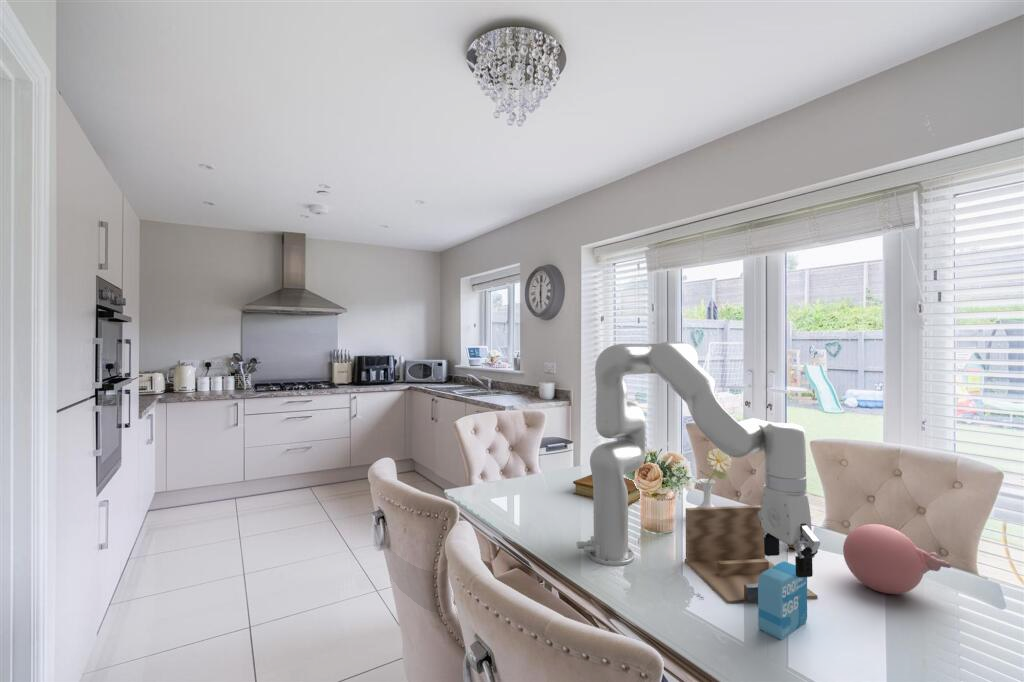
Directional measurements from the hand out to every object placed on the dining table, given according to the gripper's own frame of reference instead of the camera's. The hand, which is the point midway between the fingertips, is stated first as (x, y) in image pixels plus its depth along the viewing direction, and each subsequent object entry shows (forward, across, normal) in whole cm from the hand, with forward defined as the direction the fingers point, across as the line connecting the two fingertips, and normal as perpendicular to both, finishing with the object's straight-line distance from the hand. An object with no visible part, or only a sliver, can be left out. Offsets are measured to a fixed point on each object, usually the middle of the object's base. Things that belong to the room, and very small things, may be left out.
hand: (787, 565), depth 98 cm
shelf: (+13, -20, +4) cm, 25 cm away
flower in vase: (+13, -58, +14) cm, 61 cm away
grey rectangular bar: (+13, -10, +4) cm, 17 cm away
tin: (+13, -38, +32) cm, 52 cm away
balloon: (+14, -11, +35) cm, 39 cm away
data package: (+14, -1, -1) cm, 14 cm away
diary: (+13, -89, -9) cm, 90 cm away
